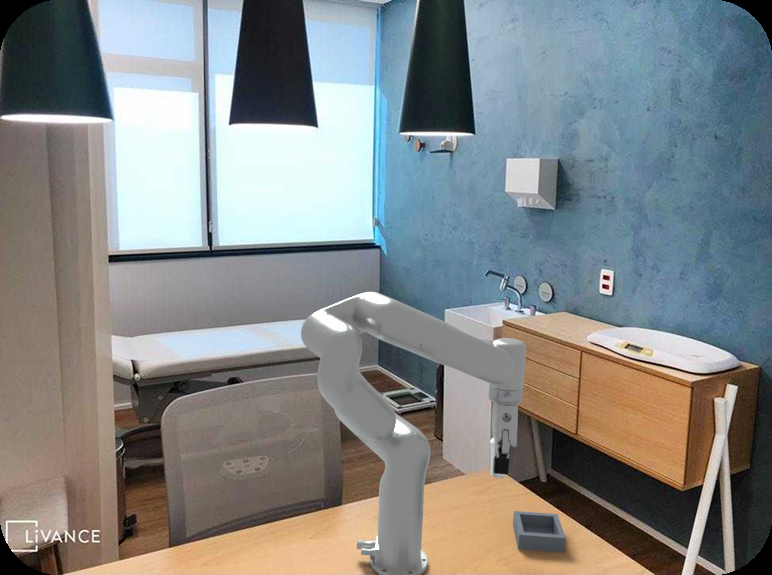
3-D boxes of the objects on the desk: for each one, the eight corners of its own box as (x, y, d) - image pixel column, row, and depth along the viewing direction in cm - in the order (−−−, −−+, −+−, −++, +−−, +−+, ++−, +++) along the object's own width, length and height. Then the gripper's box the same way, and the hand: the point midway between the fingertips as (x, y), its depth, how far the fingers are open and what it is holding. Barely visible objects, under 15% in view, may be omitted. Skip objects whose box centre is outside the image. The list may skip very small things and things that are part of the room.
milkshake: (512, 480, 150) (516, 439, 148) (489, 479, 150) (492, 438, 148) (509, 471, 154) (512, 431, 152) (486, 470, 154) (489, 430, 152)
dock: (518, 549, 149) (519, 534, 149) (512, 524, 160) (513, 511, 159) (564, 552, 149) (565, 538, 148) (556, 527, 159) (557, 514, 158)
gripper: (527, 407, 140) (520, 487, 143) (517, 382, 156) (511, 454, 160) (492, 405, 140) (486, 484, 144) (486, 380, 157) (480, 452, 160)
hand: (499, 467), depth 152 cm, fingers closed on milkshake, 4 cm apart
